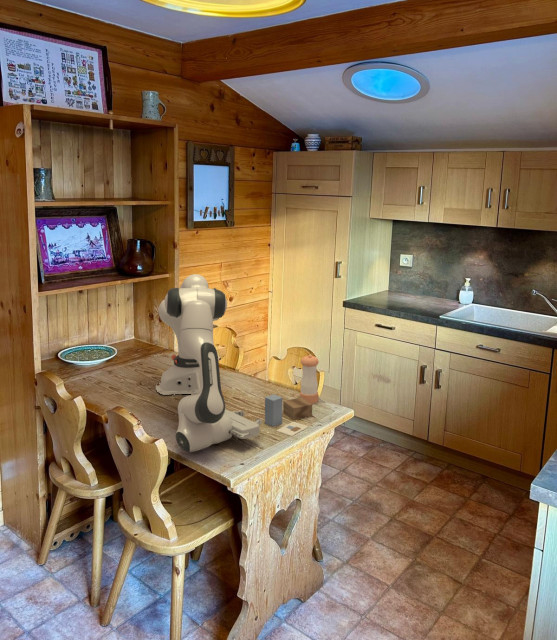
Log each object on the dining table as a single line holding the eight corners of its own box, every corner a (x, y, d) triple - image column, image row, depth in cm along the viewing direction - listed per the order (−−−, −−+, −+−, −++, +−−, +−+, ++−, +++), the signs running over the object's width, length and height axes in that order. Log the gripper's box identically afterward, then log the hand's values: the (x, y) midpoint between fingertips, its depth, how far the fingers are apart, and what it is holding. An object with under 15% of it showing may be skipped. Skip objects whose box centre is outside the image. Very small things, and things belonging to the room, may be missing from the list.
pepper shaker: (320, 398, 246) (321, 353, 241) (314, 405, 239) (315, 358, 235) (303, 396, 249) (304, 351, 244) (297, 402, 242) (297, 356, 237)
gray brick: (273, 426, 219) (273, 400, 217) (264, 422, 223) (264, 397, 220) (282, 423, 222) (282, 397, 220) (273, 419, 226) (273, 394, 223)
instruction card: (291, 436, 212) (291, 435, 211) (276, 431, 216) (276, 430, 216) (308, 427, 219) (308, 426, 219) (293, 422, 223) (293, 421, 223)
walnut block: (293, 420, 225) (293, 408, 224) (283, 413, 232) (283, 400, 231) (312, 416, 229) (312, 404, 228) (301, 409, 236) (301, 397, 234)
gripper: (240, 429, 197) (271, 417, 206) (202, 410, 211) (233, 400, 221) (240, 446, 199) (271, 434, 208) (203, 427, 213) (233, 416, 222)
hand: (251, 416), depth 214 cm, fingers open, 8 cm apart
